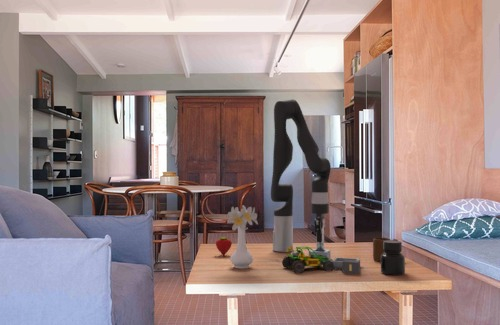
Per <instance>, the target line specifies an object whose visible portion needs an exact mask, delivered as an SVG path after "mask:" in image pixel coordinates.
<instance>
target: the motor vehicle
mask: <svg viewBox="0 0 500 325" xmlns="http://www.w3.org/2000/svg"><path fill="white" fill-rule="evenodd" d="M292 249H293V251H291V250H292ZM313 249H314V248H312V247H310V246H295V250H294V247H293V248H292V247H291V246H290V247H289V248H288V249H287V251H286V252H285V253H288V252H291V254H286V256H285V257H284V258H283V259H282V261H281V264H282V266H283V268H285V269H292V272H294V273H295V274H302V273H303V272H304V270H305V268H306V267H319V266H322V268H323V271H325V272H331V271H332V270H333V263H332V260H331V259H330V260H328V259H329V257H328V256H327V257H326V256H324V257H326V258H324V257H323V255H320V256H319V255H317V254H316V253H315V252H314V251H313ZM303 250H308V254H309V253H310V250H312V251H313V252H314V253H315V254H316V255H315V257H314V254H311V253H310V255H311V256H309V255H305V253H304V252H303ZM318 256H319V257H318ZM320 258H321V259H320ZM330 270H331V271H330Z"/></svg>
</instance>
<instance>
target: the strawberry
mask: <svg viewBox="0 0 500 325" xmlns="http://www.w3.org/2000/svg"><path fill="white" fill-rule="evenodd" d="M223 236H224V235H222V236H221V237H218V239H217V240H216V242H215V246H216V249H217V250H218V252H219V253H220V254H221V255H223V256H225V255H227V253H228V251H229V250H230V249H231V248H232V245H233V244H232V241H231V240H230V239H229V237H225V236H224V237H223Z"/></svg>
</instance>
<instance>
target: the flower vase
mask: <svg viewBox="0 0 500 325" xmlns="http://www.w3.org/2000/svg"><path fill="white" fill-rule="evenodd" d="M255 209H256V208H255V207H252V206H248V207H246V206H245V205H244V204H243V205H242V208H241V209H240V211H239V207H234V206H231V209H230V211H228V212H227V215H226V218H228V219H227V220H226V222H227V224H233V225H232V227H231V228H232V231H236V230H237V245H236V248H235V251H234V252H232V254H231V256H230V262H231V264H232V265H233V267H234V269H241V270H242V269H243V270H244V269H248V268H249V267H250V265H251V264H252V263H253V261H254V257H253V255H252V253H251V252H250V251H249V250H248V247H247V242H246V226H247V224H249V225H250V226H253V222H254V223H255V225H259V223H258V220H257V218H258V214H257V212H255V211H256V210H255Z"/></svg>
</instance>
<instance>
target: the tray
mask: <svg viewBox="0 0 500 325" xmlns="http://www.w3.org/2000/svg"><path fill="white" fill-rule="evenodd" d="M344 260H356V261H360V262H361V259H360V258H356V257H354V258H352V257H351V258H350V257H338V256H337V257H334V258H333V259H332V260H331V262H332V263H333V269H335V270H343V261H344ZM333 269H332V270H333Z"/></svg>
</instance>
